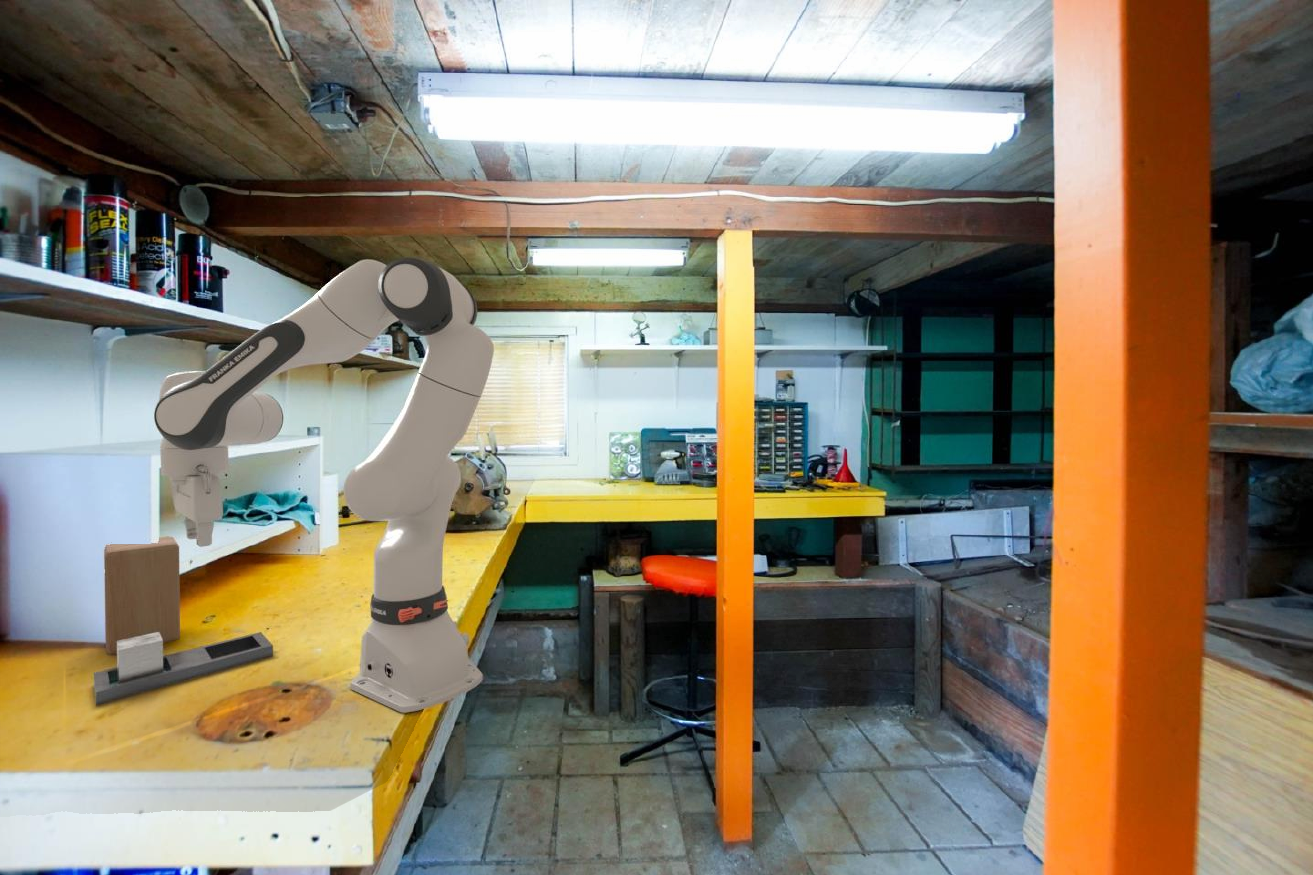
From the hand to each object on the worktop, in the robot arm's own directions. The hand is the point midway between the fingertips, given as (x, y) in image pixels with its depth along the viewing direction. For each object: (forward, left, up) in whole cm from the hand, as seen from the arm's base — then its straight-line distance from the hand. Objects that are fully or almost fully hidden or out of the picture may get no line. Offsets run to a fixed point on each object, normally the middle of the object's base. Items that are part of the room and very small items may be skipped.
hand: (198, 541), depth 89 cm
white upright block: (-1, +8, -22) cm, 23 cm away
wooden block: (+22, +6, -23) cm, 33 cm away
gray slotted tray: (-1, +2, -23) cm, 23 cm away
